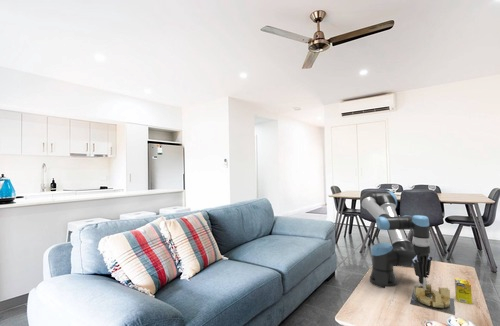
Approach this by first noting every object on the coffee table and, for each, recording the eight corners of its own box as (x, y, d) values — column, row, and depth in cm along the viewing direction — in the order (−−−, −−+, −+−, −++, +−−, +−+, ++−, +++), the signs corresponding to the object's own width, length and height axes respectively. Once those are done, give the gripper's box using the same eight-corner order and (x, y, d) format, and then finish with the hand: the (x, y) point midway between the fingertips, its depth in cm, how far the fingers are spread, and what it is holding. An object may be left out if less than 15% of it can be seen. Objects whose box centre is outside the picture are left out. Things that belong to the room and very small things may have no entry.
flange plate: (410, 306, 130) (409, 298, 131) (413, 292, 145) (413, 285, 145) (455, 317, 120) (454, 309, 120) (454, 301, 134) (453, 293, 134)
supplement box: (472, 306, 128) (471, 284, 128) (457, 303, 131) (456, 282, 132) (470, 301, 133) (469, 280, 133) (455, 298, 136) (454, 278, 137)
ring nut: (410, 292, 141) (409, 279, 142) (442, 294, 138) (441, 282, 138) (421, 306, 127) (420, 292, 127) (457, 309, 123) (456, 295, 123)
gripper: (419, 248, 132) (421, 294, 131) (436, 245, 136) (438, 290, 136) (406, 244, 139) (407, 288, 138) (423, 241, 143) (424, 284, 143)
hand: (422, 289), depth 137 cm, fingers closed
